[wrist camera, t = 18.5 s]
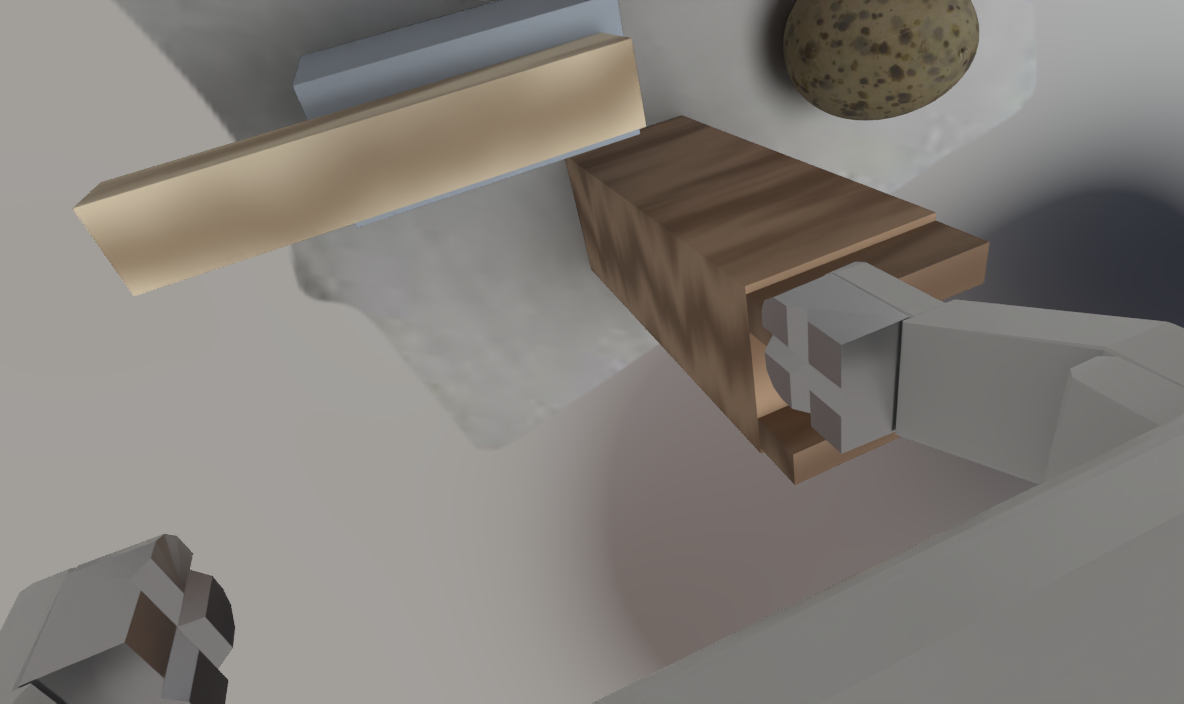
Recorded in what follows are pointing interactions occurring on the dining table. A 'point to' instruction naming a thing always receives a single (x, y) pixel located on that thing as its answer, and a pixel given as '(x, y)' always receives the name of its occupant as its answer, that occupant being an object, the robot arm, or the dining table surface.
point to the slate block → (448, 59)
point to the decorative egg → (878, 53)
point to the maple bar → (361, 161)
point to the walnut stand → (746, 259)
